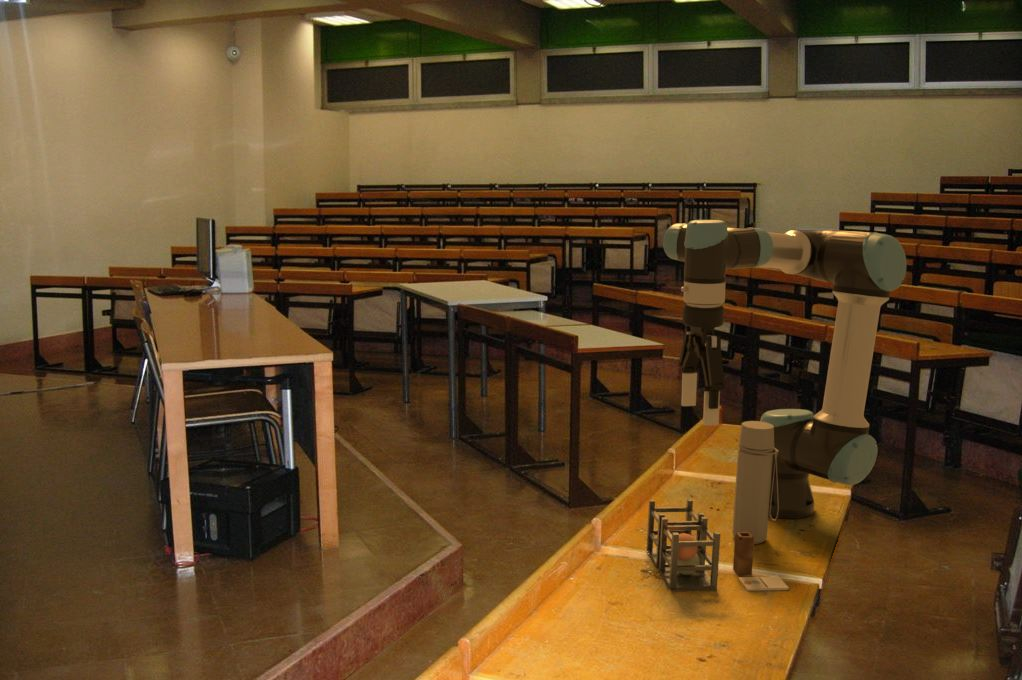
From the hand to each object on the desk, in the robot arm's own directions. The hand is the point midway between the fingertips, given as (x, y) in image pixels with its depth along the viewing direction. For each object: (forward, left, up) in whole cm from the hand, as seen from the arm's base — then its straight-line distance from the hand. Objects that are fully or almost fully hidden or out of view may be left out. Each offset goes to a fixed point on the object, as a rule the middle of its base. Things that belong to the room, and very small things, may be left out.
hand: (699, 415), depth 185 cm
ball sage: (+2, +4, -28) cm, 28 cm away
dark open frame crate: (+2, +5, -31) cm, 32 cm away
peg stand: (-10, +2, -31) cm, 33 cm away
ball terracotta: (+3, +7, -24) cm, 25 cm away
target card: (-12, +8, -31) cm, 34 cm away
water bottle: (-18, -14, -31) cm, 39 cm away
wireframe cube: (+2, -5, -31) cm, 31 cm away
